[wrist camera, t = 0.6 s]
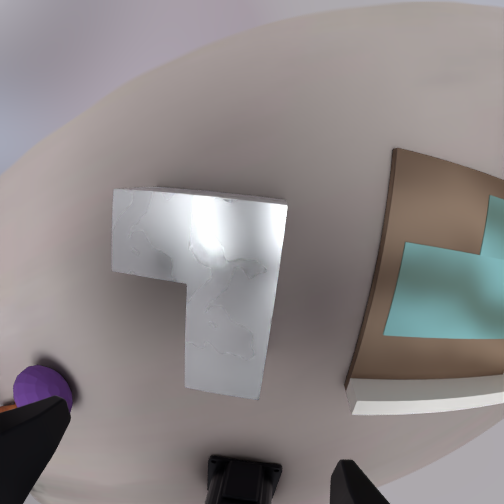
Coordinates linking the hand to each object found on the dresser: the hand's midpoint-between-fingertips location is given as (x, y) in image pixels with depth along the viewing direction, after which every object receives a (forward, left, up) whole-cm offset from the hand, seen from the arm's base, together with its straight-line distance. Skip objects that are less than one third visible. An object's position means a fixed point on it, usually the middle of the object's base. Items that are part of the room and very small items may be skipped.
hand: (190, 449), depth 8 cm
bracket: (+2, +2, -12) cm, 12 cm away
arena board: (+3, -16, -12) cm, 20 cm away
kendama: (-16, +22, -12) cm, 30 cm away
